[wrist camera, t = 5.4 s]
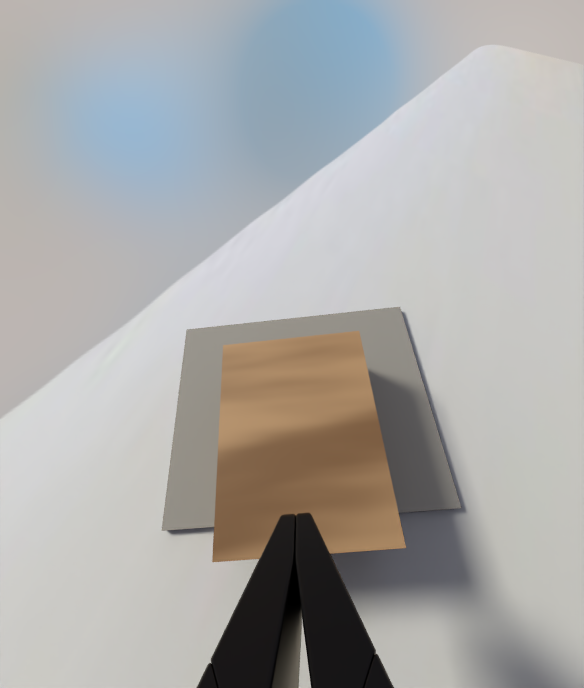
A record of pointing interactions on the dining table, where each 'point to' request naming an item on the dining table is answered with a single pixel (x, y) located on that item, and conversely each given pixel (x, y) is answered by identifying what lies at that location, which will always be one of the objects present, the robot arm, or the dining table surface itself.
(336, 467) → the walnut block
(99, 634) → the dining table surface
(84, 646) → the dining table surface
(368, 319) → the mat
